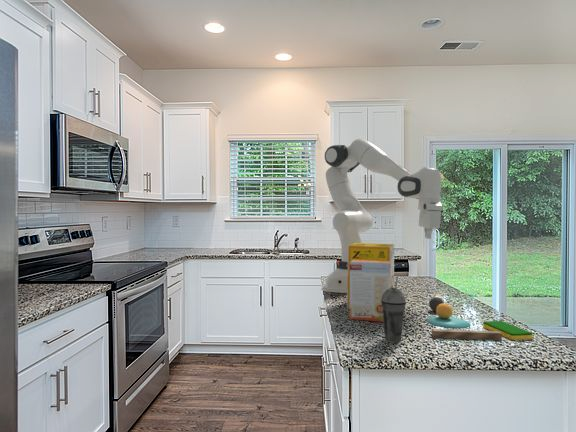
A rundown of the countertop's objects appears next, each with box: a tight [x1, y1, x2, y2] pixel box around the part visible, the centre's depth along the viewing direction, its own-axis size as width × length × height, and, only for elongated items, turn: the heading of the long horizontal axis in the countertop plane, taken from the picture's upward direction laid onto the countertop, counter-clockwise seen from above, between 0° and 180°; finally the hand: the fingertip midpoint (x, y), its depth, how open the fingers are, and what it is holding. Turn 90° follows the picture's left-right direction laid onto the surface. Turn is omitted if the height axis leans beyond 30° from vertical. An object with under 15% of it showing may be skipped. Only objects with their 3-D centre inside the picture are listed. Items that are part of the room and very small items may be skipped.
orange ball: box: [435, 302, 453, 319], centre depth 144 cm, size 6×6×6 cm
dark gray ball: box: [428, 296, 445, 312], centre depth 154 cm, size 6×6×6 cm
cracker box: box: [349, 260, 391, 323], centre depth 142 cm, size 14×6×21 cm, turn 71°
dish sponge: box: [482, 320, 533, 341], centre depth 128 cm, size 7×14×2 cm, turn 10°
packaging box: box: [346, 242, 395, 309], centre depth 163 cm, size 16×16×25 cm
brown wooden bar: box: [431, 328, 503, 341], centre depth 122 cm, size 20×2×2 cm, turn 85°
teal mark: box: [426, 316, 471, 329], centre depth 139 cm, size 14×14×1 cm
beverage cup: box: [381, 273, 407, 344], centre depth 119 cm, size 7×7×20 cm
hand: (427, 238), depth 169 cm, fingers closed
